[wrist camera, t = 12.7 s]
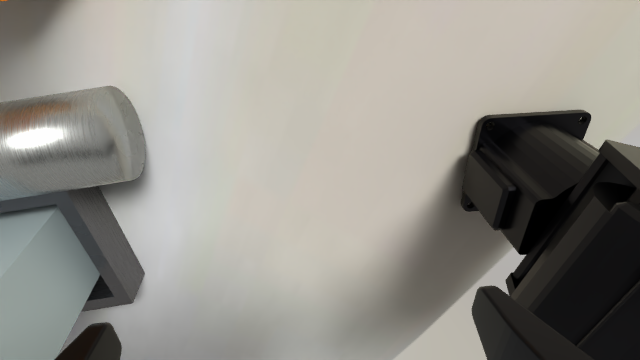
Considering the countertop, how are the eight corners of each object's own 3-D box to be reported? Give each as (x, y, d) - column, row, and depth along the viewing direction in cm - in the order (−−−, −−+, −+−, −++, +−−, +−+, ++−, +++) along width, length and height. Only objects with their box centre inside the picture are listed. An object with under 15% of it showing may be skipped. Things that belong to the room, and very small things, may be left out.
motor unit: (118, 69, 18) (73, 106, 14) (199, 264, 25) (185, 325, 21) (-154, 111, 18) (-278, 160, 14) (5, 295, 25) (-46, 363, 21)
